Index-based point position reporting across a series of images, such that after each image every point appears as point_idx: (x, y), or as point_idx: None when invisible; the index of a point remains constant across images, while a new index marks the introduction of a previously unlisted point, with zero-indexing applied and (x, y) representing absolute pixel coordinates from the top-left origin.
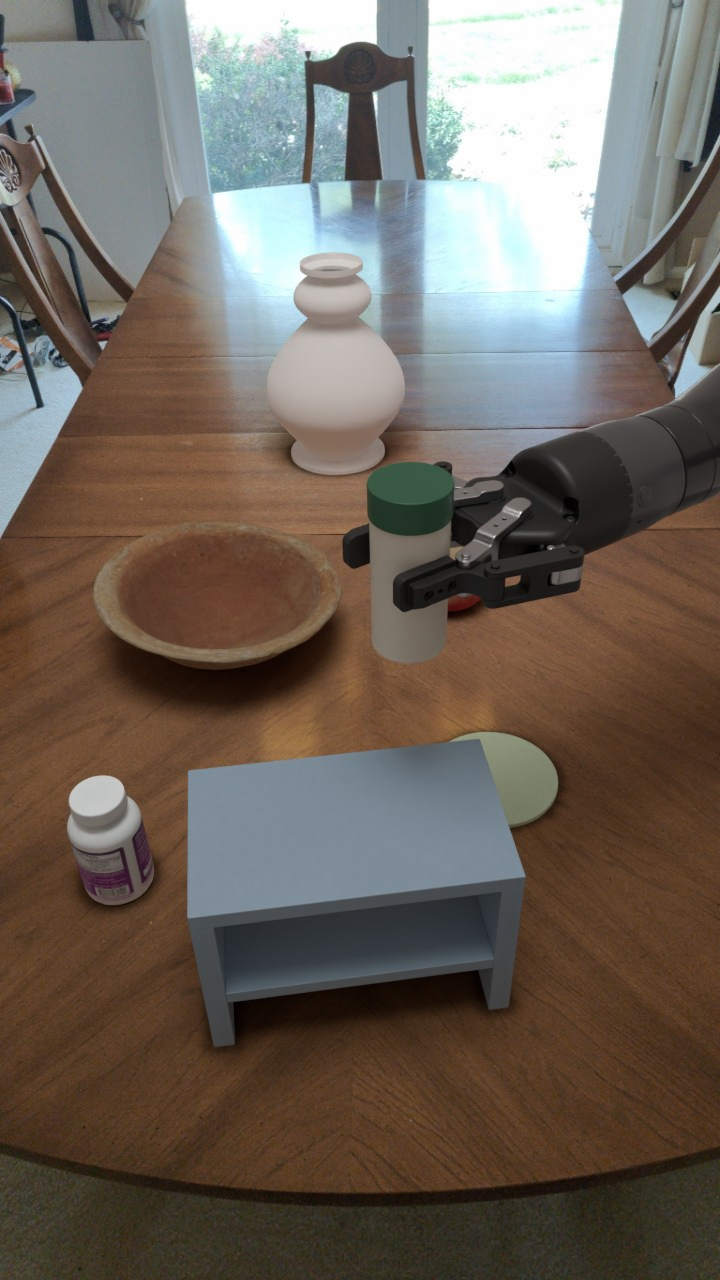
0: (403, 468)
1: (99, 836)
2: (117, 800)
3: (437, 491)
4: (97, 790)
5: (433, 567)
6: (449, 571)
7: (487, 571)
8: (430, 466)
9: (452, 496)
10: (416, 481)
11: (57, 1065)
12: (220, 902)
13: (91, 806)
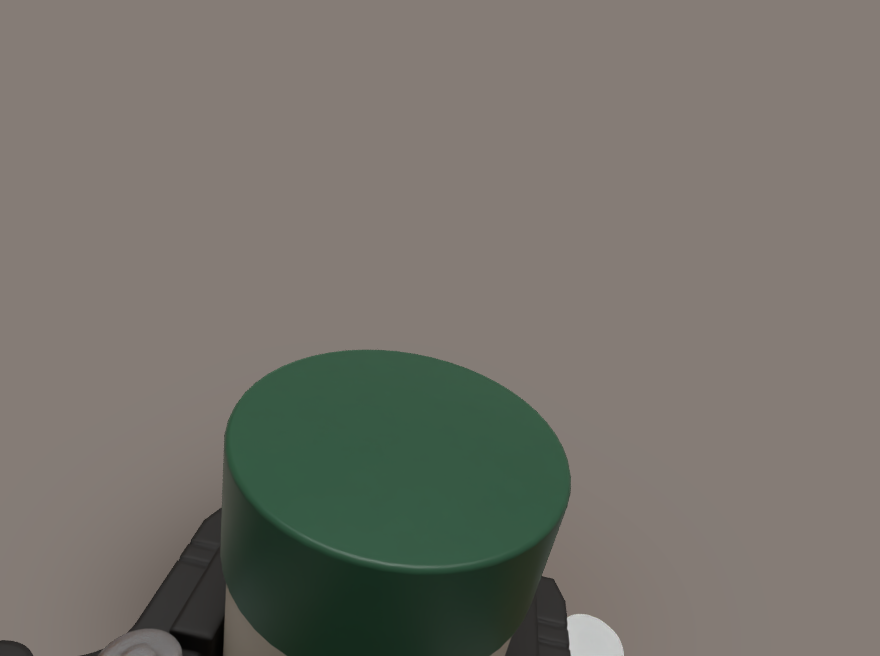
0: (507, 479)
1: None
2: (571, 653)
3: (273, 429)
4: (597, 645)
5: (215, 560)
6: (172, 615)
7: (11, 643)
8: (446, 544)
9: (227, 496)
10: (390, 440)
11: None
12: None
13: (575, 627)
